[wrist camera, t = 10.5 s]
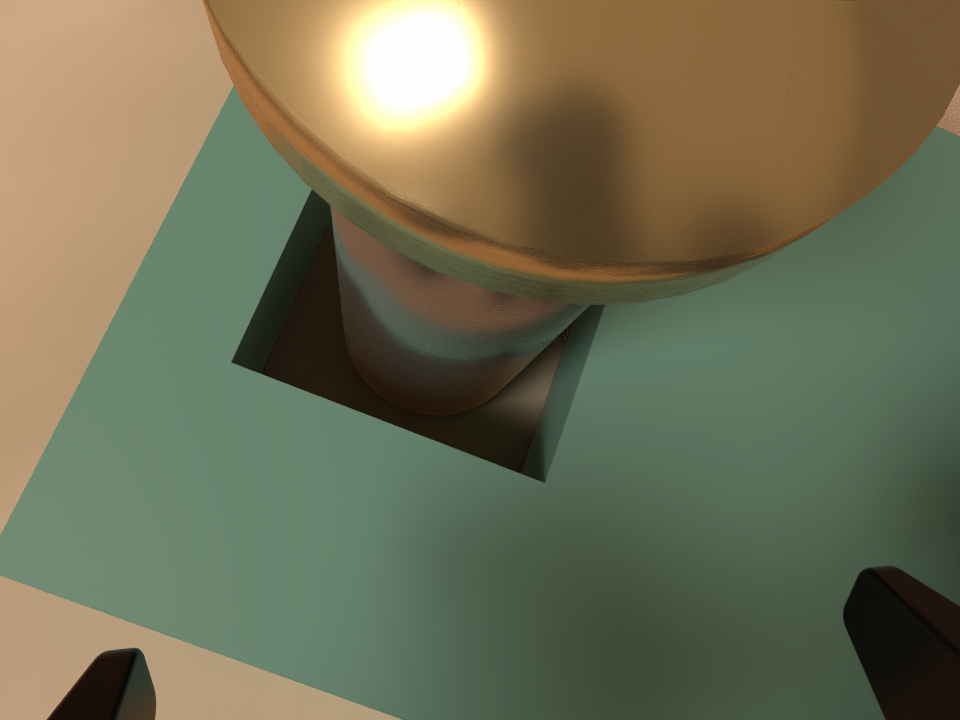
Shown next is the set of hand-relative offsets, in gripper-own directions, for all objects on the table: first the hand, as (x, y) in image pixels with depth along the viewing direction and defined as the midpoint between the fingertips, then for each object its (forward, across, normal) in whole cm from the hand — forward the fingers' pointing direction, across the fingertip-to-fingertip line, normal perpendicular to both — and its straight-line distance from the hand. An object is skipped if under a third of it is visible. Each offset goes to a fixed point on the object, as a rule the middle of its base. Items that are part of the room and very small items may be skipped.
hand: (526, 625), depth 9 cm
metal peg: (+10, 0, +1) cm, 10 cm away
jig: (+8, -4, +2) cm, 10 cm away
